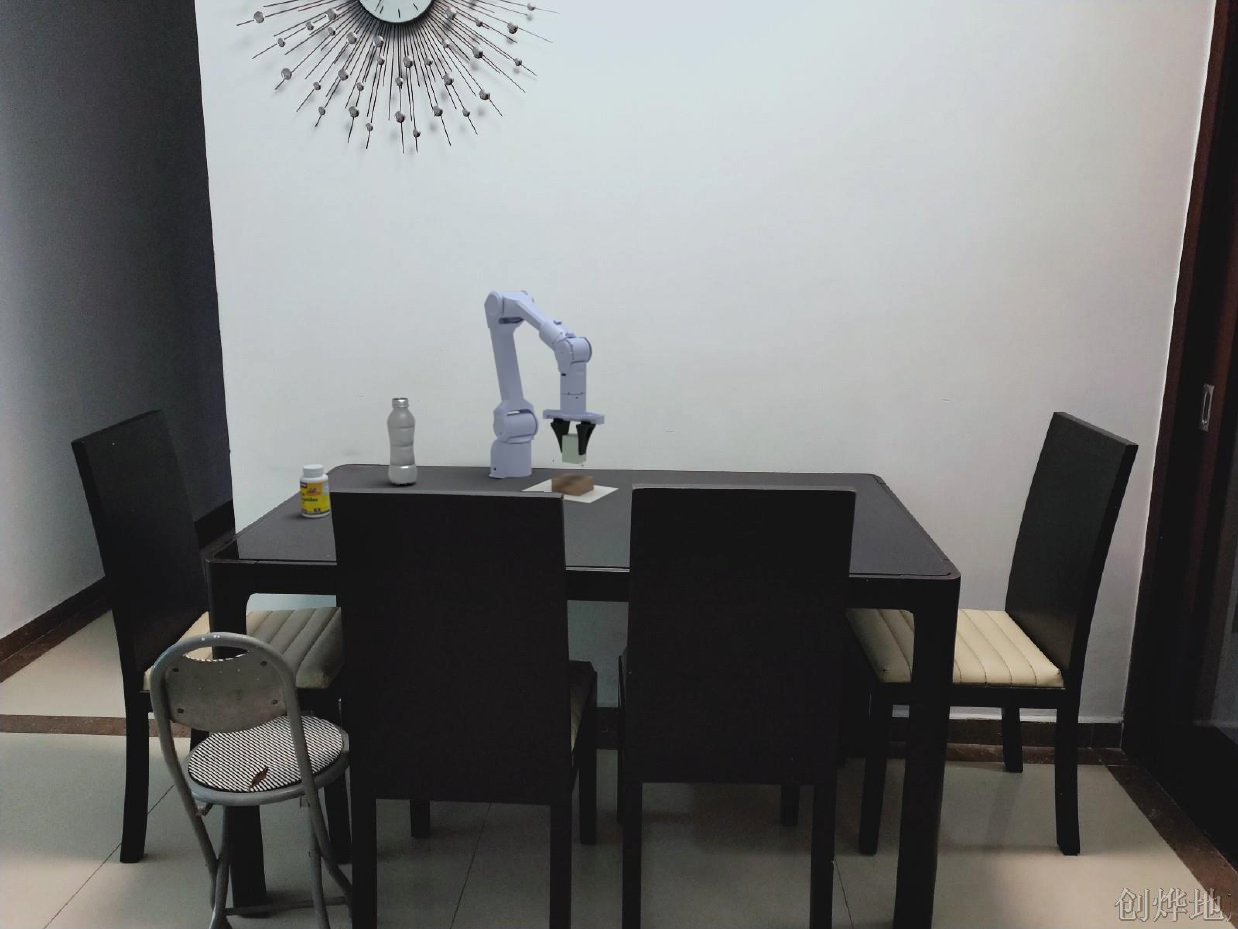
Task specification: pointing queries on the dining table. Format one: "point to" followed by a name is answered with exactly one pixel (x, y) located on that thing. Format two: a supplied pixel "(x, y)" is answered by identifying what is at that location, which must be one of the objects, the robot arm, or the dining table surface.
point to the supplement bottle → (314, 492)
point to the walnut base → (572, 484)
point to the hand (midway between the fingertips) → (573, 453)
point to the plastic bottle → (401, 443)
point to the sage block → (571, 449)
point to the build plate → (587, 497)
